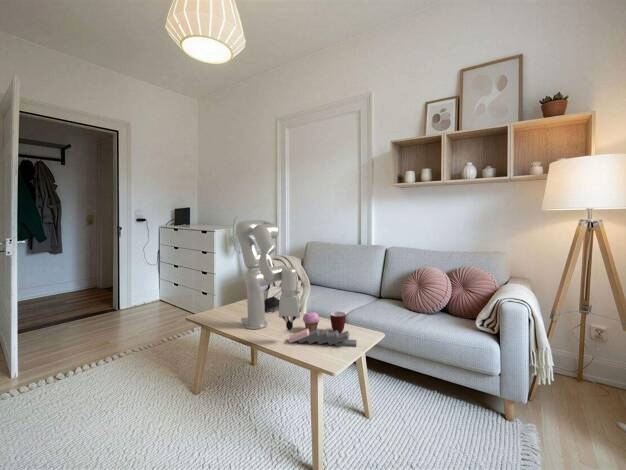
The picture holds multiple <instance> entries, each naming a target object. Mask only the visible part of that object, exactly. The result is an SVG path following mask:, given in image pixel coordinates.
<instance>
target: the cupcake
mask: <svg viewBox="0 0 626 470" xmlns="http://www.w3.org/2000/svg"><path fill="white" fill-rule="evenodd" d="M302 321H303V322H304V326H305V329H308V330H309V332H311V331H313V330H316V329H318V325H319V322H320V316H319V314H318V313H317V312H315V311H314V312H313V311H312V312H311V311H308V312H306V313H305V314H304V315H303V317H302Z"/></svg>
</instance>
